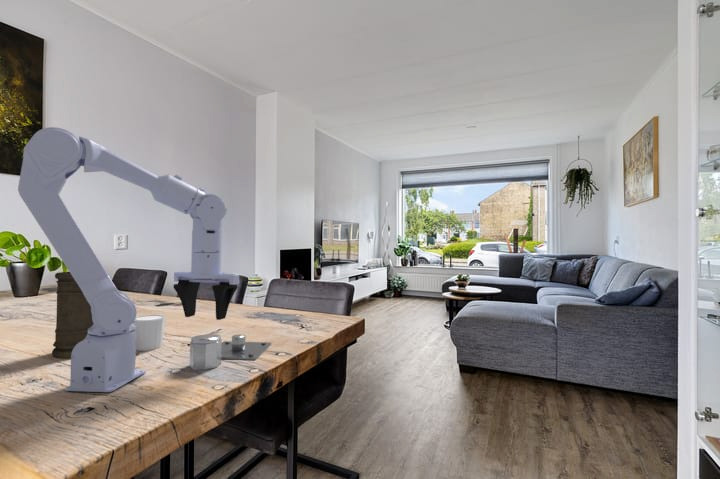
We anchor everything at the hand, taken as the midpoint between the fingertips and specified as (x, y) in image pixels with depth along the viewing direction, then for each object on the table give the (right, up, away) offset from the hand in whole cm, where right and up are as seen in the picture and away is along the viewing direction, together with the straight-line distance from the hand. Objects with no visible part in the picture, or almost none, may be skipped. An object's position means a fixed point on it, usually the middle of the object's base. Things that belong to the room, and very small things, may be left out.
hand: (205, 317), depth 74 cm
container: (-31, -9, +6) cm, 33 cm away
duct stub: (+4, -10, +9) cm, 13 cm away
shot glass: (-18, -10, +10) cm, 23 cm away
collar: (+1, -9, -1) cm, 10 cm away
